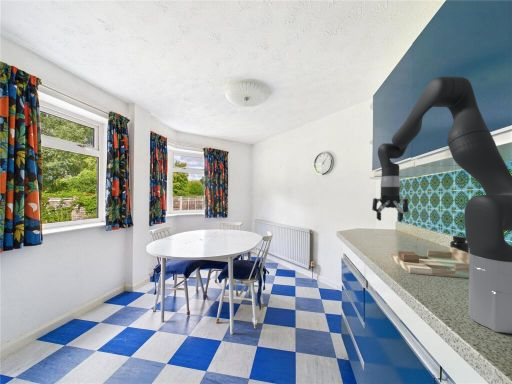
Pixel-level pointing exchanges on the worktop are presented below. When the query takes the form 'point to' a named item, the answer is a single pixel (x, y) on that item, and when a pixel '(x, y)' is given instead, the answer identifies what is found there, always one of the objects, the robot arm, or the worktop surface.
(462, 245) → the supplement bottle
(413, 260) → the walnut block
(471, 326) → the worktop surface
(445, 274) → the box
